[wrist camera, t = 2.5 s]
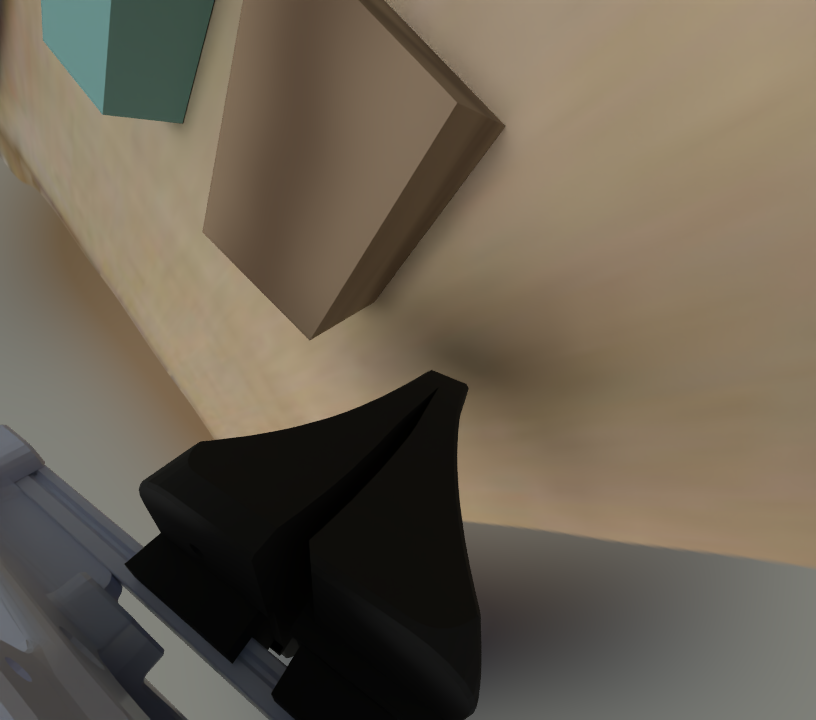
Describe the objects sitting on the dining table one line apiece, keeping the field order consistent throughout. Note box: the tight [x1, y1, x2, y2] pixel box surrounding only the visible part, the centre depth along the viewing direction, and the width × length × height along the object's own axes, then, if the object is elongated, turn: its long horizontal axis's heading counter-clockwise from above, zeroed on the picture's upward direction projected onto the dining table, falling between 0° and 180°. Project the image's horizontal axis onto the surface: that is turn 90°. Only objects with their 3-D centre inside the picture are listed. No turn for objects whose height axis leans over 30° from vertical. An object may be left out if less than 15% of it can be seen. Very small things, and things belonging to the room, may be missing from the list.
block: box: [203, 0, 505, 340], centre depth 12 cm, size 6×9×5 cm, turn 141°
